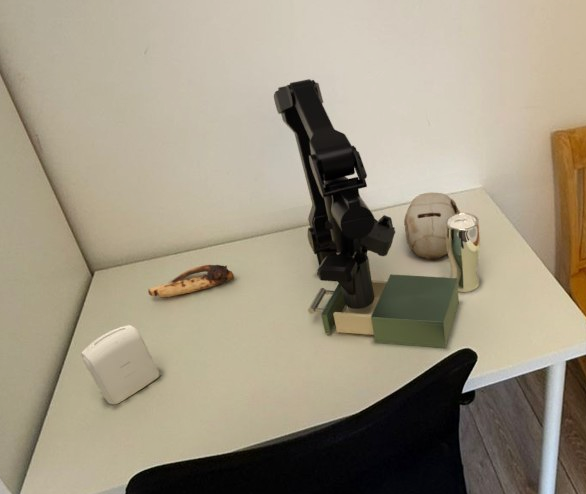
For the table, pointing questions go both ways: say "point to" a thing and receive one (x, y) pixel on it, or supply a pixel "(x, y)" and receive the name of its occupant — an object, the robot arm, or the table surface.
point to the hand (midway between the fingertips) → (356, 285)
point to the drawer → (351, 318)
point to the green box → (416, 311)
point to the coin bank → (428, 224)
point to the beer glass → (463, 249)
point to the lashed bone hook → (193, 281)
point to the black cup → (360, 285)
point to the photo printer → (120, 363)
